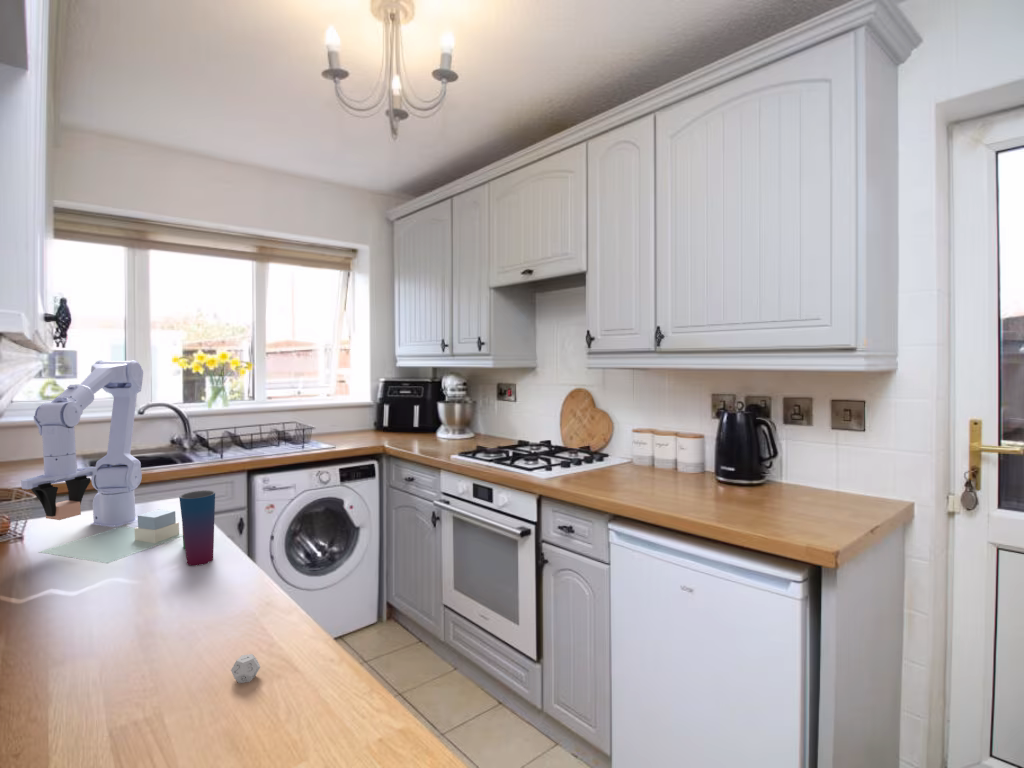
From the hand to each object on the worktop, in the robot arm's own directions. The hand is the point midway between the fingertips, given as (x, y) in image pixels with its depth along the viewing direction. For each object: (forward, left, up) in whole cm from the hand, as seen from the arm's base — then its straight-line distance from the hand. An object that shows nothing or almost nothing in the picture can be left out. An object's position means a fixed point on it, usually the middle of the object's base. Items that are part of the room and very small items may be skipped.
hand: (63, 512), depth 124 cm
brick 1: (0, 0, -1) cm, 1 cm away
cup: (+35, +5, -9) cm, 37 cm away
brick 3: (+13, +12, -9) cm, 20 cm away
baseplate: (+7, +6, -9) cm, 13 cm away
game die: (+78, -26, -10) cm, 83 cm away
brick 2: (+13, +12, -6) cm, 19 cm away
